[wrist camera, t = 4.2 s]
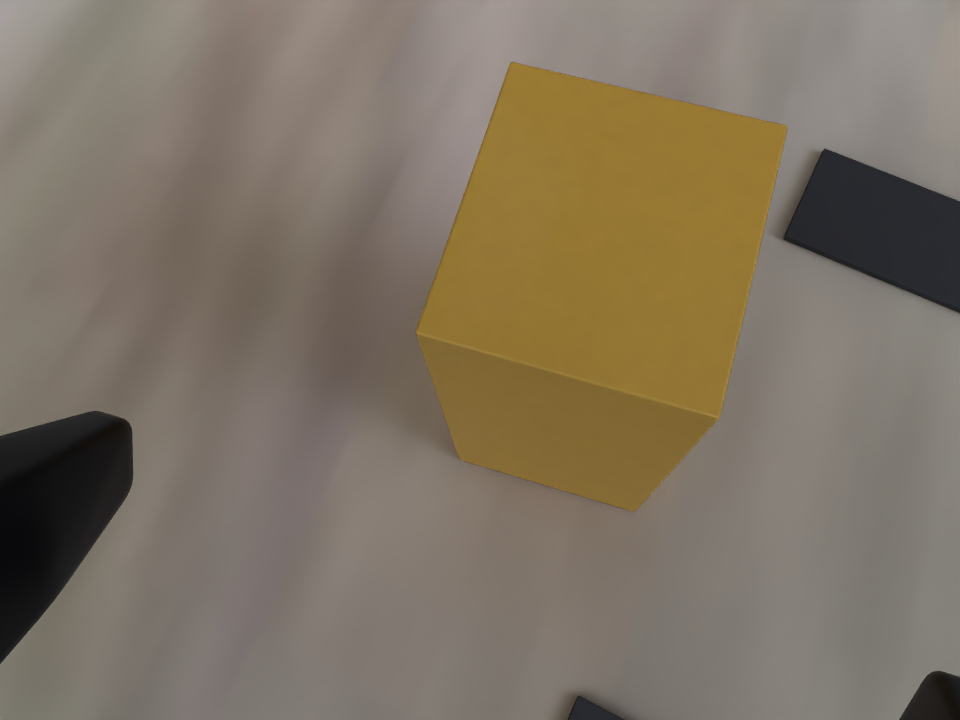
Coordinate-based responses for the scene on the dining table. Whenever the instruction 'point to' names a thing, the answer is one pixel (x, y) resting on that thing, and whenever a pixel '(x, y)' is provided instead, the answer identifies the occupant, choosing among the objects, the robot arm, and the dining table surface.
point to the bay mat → (870, 247)
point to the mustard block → (596, 282)
